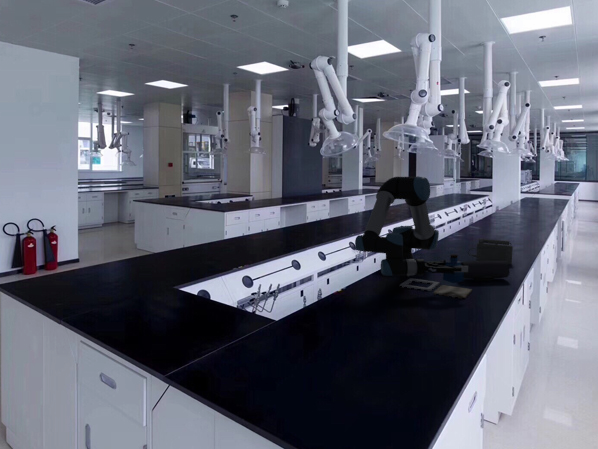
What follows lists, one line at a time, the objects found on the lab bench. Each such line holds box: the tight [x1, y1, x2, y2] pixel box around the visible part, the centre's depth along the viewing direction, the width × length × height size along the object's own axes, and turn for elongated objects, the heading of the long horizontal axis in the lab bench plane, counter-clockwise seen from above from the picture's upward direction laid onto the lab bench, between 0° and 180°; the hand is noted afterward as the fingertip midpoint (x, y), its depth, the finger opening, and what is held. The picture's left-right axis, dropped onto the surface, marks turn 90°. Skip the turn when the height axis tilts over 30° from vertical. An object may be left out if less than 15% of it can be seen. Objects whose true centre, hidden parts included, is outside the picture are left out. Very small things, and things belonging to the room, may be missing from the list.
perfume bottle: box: [442, 254, 464, 284], centre depth 202 cm, size 6×6×12 cm
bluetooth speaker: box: [460, 260, 511, 282], centre depth 226 cm, size 23×9×10 cm, turn 92°
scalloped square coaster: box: [399, 277, 441, 292], centre depth 217 cm, size 15×15×1 cm
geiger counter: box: [467, 237, 514, 265], centre depth 267 cm, size 14×6×25 cm
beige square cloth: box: [432, 284, 473, 299], centre depth 204 cm, size 14×14×1 cm
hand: (463, 266), depth 202 cm, fingers closed on perfume bottle, 8 cm apart
